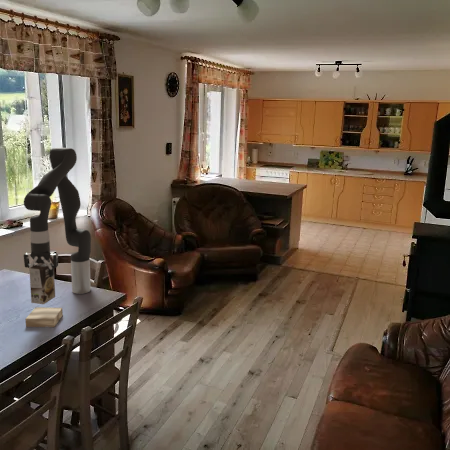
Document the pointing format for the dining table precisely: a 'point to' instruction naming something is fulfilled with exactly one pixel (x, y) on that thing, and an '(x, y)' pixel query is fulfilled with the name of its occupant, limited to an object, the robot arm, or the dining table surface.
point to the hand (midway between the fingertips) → (42, 276)
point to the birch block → (44, 317)
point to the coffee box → (41, 284)
